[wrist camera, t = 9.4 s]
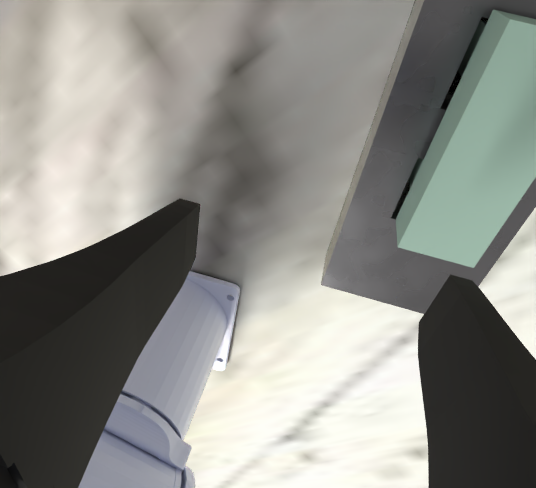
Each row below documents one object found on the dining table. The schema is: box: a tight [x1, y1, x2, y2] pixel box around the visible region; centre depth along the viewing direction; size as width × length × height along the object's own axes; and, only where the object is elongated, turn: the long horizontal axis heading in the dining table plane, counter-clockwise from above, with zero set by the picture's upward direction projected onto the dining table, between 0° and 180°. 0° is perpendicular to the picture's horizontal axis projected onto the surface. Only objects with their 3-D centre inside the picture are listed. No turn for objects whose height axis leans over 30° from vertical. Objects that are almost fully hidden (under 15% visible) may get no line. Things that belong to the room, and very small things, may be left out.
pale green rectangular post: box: [396, 10, 536, 268], centre depth 15 cm, size 8×3×5 cm, turn 170°
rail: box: [321, 0, 536, 314], centre depth 16 cm, size 18×7×2 cm, turn 170°
